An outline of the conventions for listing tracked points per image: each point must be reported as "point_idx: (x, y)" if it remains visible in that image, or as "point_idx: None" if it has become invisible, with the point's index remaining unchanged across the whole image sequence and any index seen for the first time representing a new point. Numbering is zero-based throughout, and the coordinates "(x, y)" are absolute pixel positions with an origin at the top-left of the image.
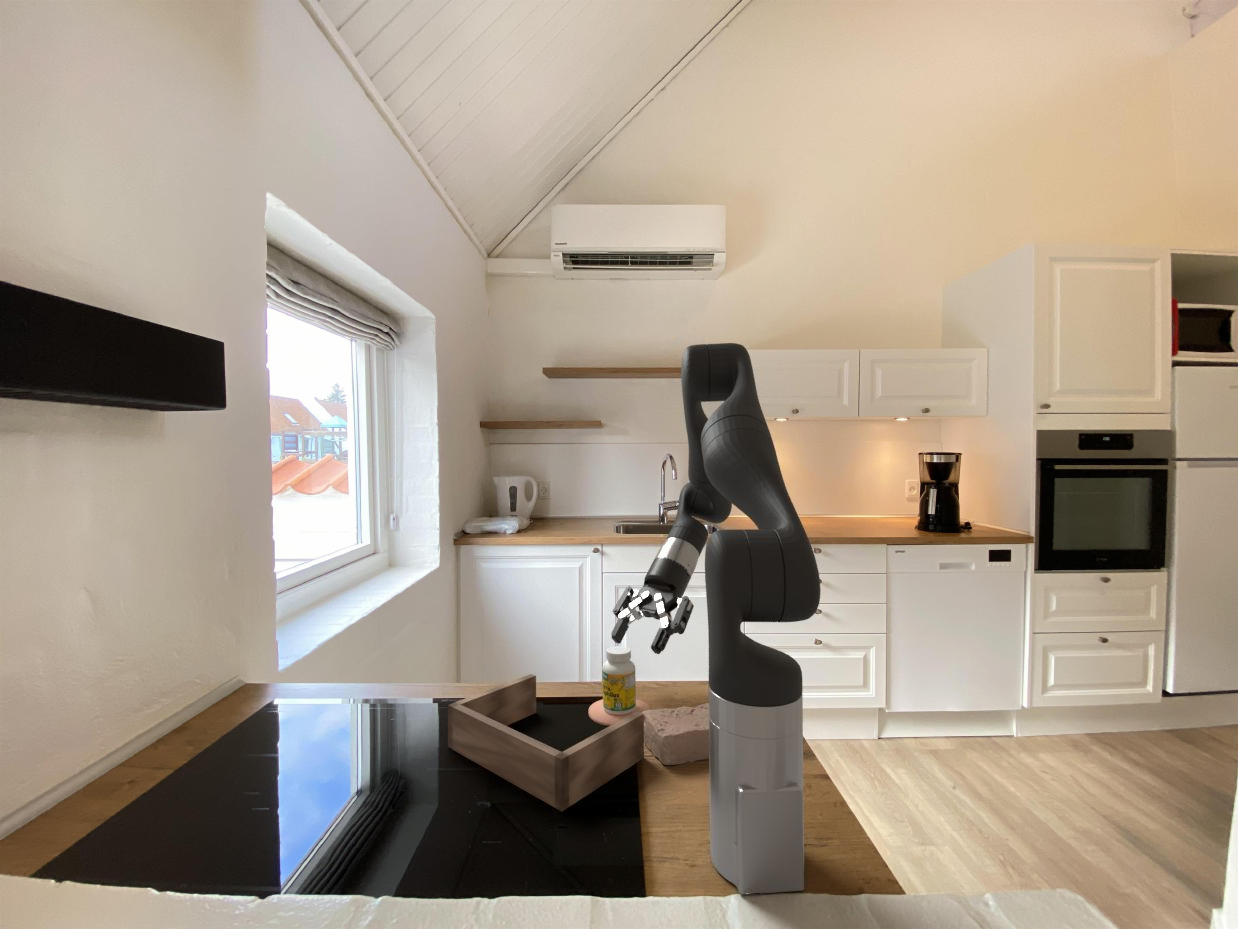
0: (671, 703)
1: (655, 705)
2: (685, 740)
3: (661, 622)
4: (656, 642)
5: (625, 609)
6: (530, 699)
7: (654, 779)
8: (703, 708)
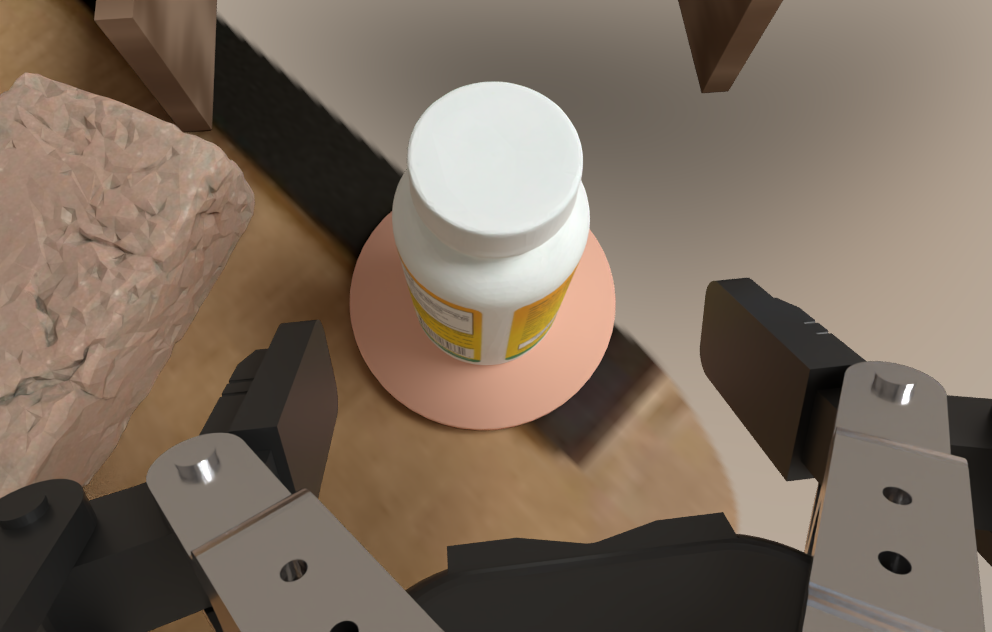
0: (378, 545)
1: (421, 468)
2: None
3: (260, 468)
4: (273, 346)
5: (945, 441)
6: (717, 27)
7: (85, 75)
8: (24, 396)
